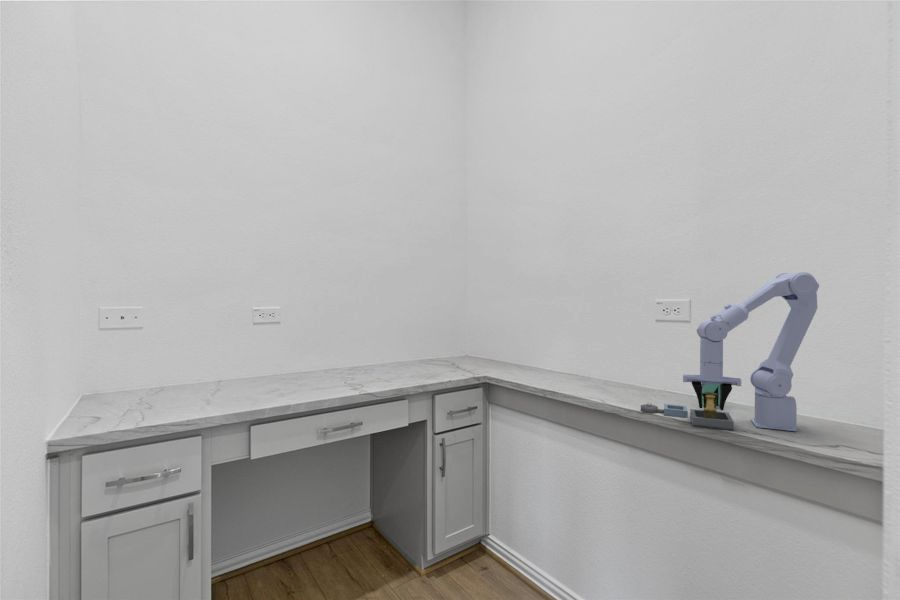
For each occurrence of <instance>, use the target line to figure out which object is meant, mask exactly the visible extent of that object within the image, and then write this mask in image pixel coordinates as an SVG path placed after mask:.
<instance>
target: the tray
mask: <svg viewBox="0 0 900 600" xmlns="http://www.w3.org/2000/svg"><path fill="white" fill-rule="evenodd" d="M689 411H690V412H689V413H690V415H689V417H690V422H691V426H692V427H697V428H698V427H699V428H704V429H705V428H706V429H715V430H723V431H734V427H735V426H734V425H735V424H734V420H733V418H732V416H731V414H730V413H729V412H727V411H717V410H716V419H711V418H703V416H704V409H696V408H690V410H689Z"/></svg>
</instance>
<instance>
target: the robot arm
mask: <svg viewBox="0 0 900 600" xmlns="http://www.w3.org/2000/svg"><path fill="white" fill-rule="evenodd" d="M819 287H820V284H819V282H818V281H817V279H816V278H815V277H814V276H813V274H811V273H809V272H804V271H802V272H794V273H787V272H784V273H780V274H778V275H776V276H775V278H771V279H769V280H768V281H767V282H766V283H765V284H764V285H762V286H761V287H760V288H758V289H757V290H756V291H754V292H753V293H752V294H751V295H749V296H748V297H746V298H745V299H744V300H743V301H741V302H740V303H734V302H733V303H731V304H729V303H728V304H725V305H724V307H723V308H724V309H722V310H721V311H719V312H718V313H717V314H713V315H711V316H710V319H707V320H706V319H705V320H703V321H702V322H700V323H699V326H698V328H697V329H696V334H697V336H699V338H700V340H699V341H700V346H699V347H700V348H699V354H700V355H699V370H700V371H699V374H684V373H683V374H682V381H683V383H691V385H692V387H693V390H694V392H695V394H696V398H697V400H698V401H697V402H698V407H699V409H703V406H702V383H710V384H720V408H719V409H720V411H724V408H725V405H726V401H727V399H728V397H729V395H730V394H731V392H732V390H733V386H737V387H742V379H741V378H740V377H730V376H724V371H723V370H724V340H726V337H728V333H729V332H731V331H732V330H734V329H735V328H737V327H738V326H739V325H741V324H742V323H744V322H745V321H747V320H748V318H749V313H750V312H752V311H754V310H755V309H757V308H758V307H761V306H762V305H763V304H765V303H766V302H769V301H770V300H771V299H774V298H775V297H781V298H783V299H784V300H785V301H786V303H787V304H788V306H789V307H790V311H789V312H788V314H787V317H786V318H785V321H784V323H783V325H782V326H781V329H780V332H779V335H778V336H777V338H776V340H775V342H774V345H773V347H772V349H771V351H770V353H769V355H768V357H767V359H765V360H764V361H761V363H760V364H759V365H758V368H756V369H755V370H754V371H752V373H751V375H750V384H751V385H752V386H753V387H754V418H753V417H751V418H750V421H751V422H752V424H753V425H754V426H755V428H761V429H769V430H770V429H771V430H772V429H773V430H778V431H779V430H780V431H789V432H797V431H798V430H797V401H796V399H795V397H794V396H789V395H788V394H789V393H790V392H791V390H792V386H793V385H792V379H793V376H794V373H793V369H792V368H791V365H792V363H793V361H794V359H795V357H796V355H797V353H798V351H799V348H800V347H801V344H802V343H803V340H804V338H805V336H806V334H807V331H808V330H809V328H810V325H811V323H812V320H813V319H814V318H815V317H814V316H815V315H816V312H817V311H818V294H817V292H818V289H820V288H819Z"/></svg>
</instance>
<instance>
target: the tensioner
mask: <svg viewBox="0 0 900 600" xmlns="http://www.w3.org/2000/svg"><path fill="white" fill-rule="evenodd" d="M640 411H641V412H642V413H647V414H658V413H659V414H663V415H664V416H667V415H670V416H669V417H676V416H678V418H686V417H687V418H688V417H689V416H688V413H689V412H688V411H689V410H688V407H687V405H678V404H669V403H663V409H662V408H659V407H658V406H657V405H655V404H653V403H652V402H646V404H645V403H644V404H641V405H640Z"/></svg>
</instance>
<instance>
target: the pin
mask: <svg viewBox="0 0 900 600" xmlns="http://www.w3.org/2000/svg"><path fill="white" fill-rule="evenodd" d="M702 396H703V397H704V407H703V410H704V416H703V418H711V419H716V411H717V409H716V398H718V394H716V393H711V392H703V393H702Z"/></svg>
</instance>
